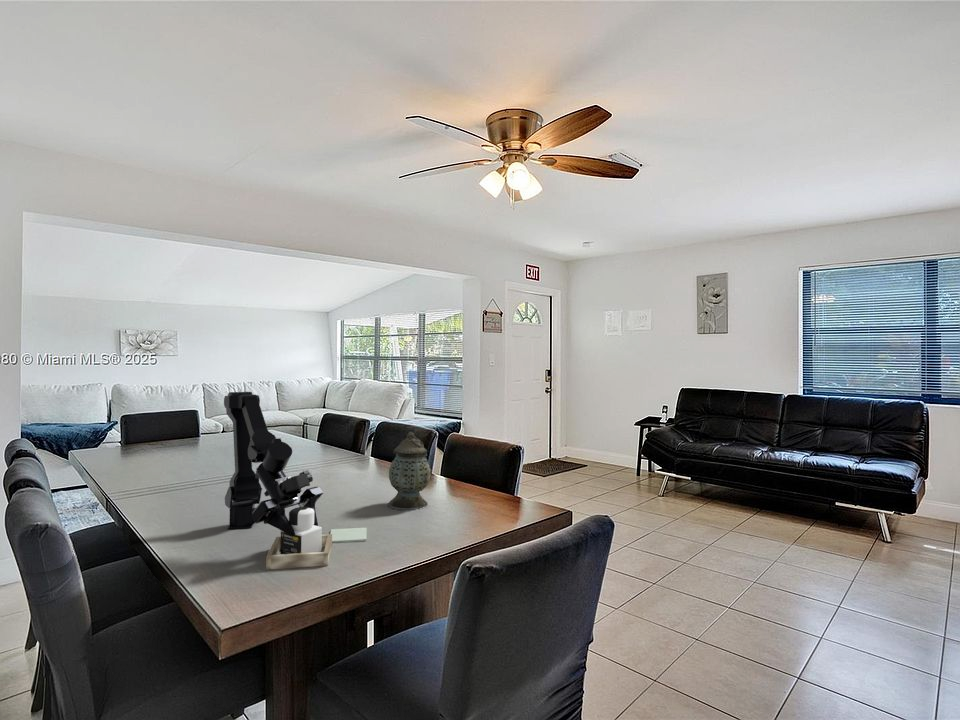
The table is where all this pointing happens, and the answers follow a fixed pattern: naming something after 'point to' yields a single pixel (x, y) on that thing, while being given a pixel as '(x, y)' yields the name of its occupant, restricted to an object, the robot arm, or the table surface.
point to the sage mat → (349, 535)
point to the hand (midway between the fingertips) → (305, 531)
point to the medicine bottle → (302, 533)
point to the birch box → (298, 556)
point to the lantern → (409, 474)
